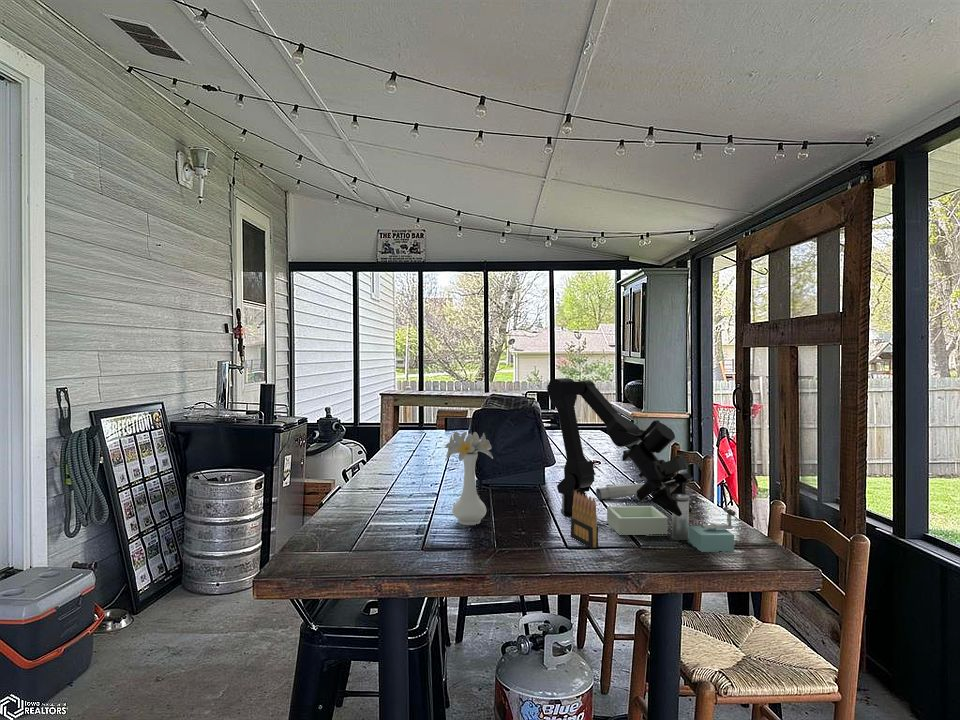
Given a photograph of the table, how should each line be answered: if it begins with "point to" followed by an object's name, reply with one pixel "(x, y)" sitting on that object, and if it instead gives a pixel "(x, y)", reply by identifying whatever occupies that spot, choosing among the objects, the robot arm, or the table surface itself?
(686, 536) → the pin
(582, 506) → the ammunition clip
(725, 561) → the table surface
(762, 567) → the table surface
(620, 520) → the tray
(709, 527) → the crank handle
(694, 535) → the crank block
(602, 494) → the grey mallet
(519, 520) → the table surface
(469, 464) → the flower vase
